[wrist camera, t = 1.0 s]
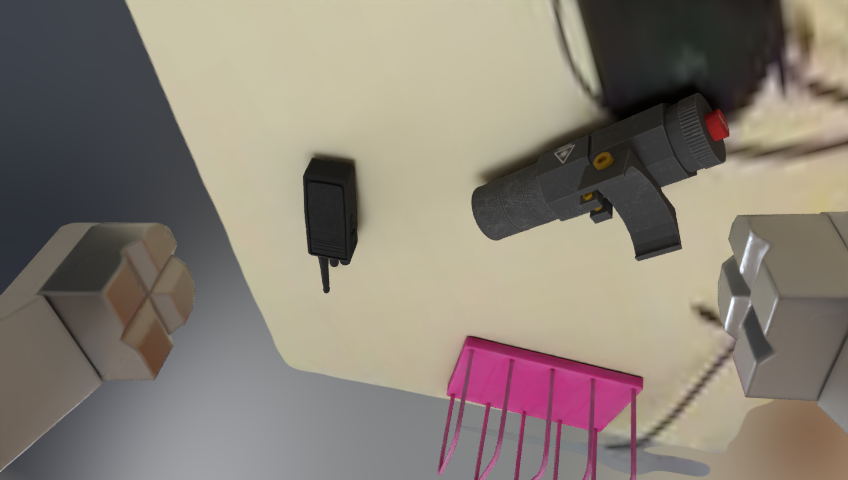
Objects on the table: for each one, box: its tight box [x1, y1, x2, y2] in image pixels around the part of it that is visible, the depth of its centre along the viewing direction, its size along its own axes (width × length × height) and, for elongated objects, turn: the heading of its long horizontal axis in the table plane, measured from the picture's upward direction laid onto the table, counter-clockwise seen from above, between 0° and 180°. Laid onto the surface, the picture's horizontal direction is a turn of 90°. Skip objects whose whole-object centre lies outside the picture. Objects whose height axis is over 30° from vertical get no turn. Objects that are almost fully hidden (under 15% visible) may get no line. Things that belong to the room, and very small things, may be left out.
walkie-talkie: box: [303, 158, 358, 293], centre depth 72 cm, size 6×6×20 cm
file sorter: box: [438, 337, 643, 480], centre depth 91 cm, size 17×25×16 cm
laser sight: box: [472, 93, 729, 261], centre depth 55 cm, size 10×22×10 cm, turn 131°
